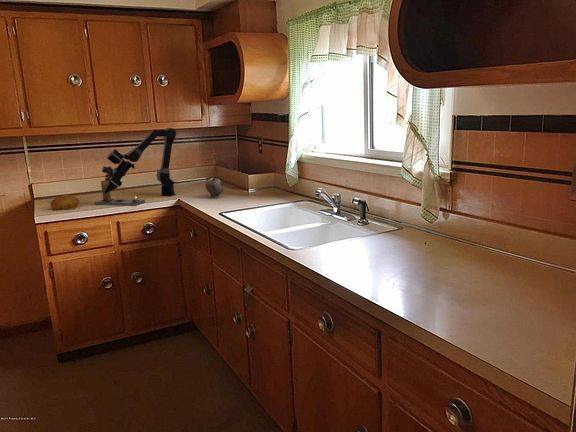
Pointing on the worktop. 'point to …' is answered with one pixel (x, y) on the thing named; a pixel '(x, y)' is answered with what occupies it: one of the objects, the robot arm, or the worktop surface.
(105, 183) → the dowel
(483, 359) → the worktop surface
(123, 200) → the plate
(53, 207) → the bread loaf
